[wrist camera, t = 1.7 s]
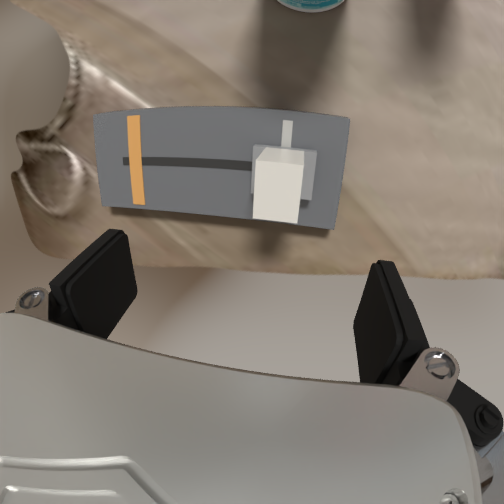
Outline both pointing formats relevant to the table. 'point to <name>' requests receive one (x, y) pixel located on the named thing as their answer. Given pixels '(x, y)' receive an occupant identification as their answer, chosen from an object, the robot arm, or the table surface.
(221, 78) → the table surface
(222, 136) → the fader console
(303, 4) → the pill bottle
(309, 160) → the fader knob
